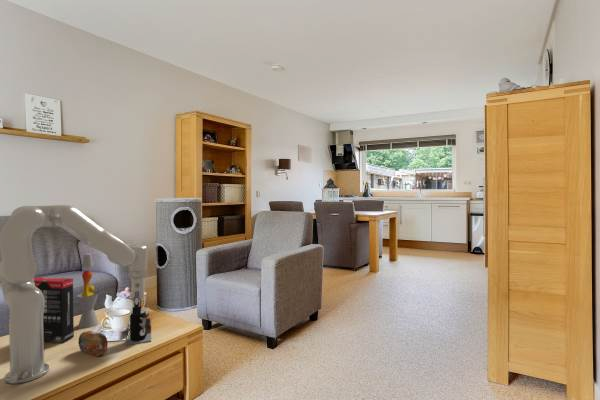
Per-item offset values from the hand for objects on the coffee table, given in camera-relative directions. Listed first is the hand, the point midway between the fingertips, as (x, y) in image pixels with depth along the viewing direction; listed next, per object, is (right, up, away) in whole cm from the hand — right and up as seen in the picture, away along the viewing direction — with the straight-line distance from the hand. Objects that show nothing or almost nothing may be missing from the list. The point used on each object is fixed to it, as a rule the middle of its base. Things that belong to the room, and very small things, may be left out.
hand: (137, 312), depth 152 cm
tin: (-12, -13, -12) cm, 21 cm away
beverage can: (0, -12, +1) cm, 12 cm away
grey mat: (0, -12, +1) cm, 12 cm away
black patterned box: (-3, -12, +10) cm, 16 cm away
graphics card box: (-38, -12, +1) cm, 40 cm away
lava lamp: (-33, -12, +18) cm, 39 cm away
